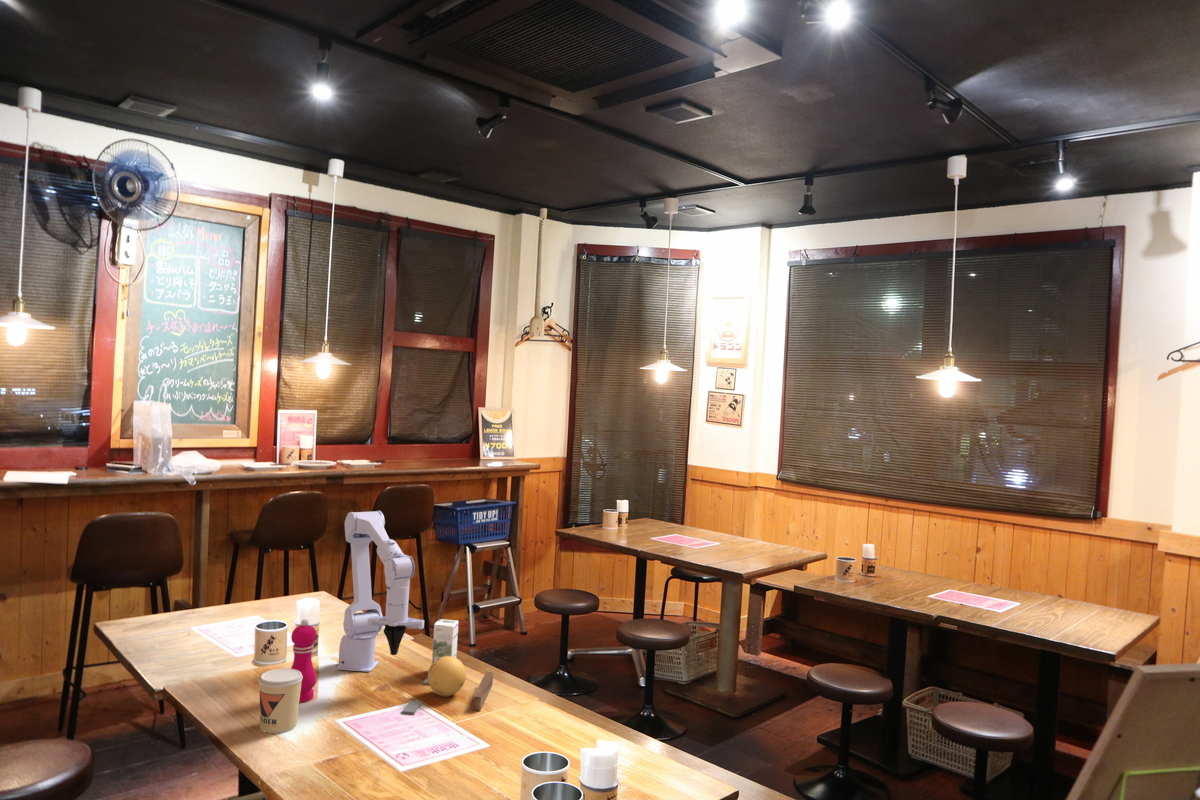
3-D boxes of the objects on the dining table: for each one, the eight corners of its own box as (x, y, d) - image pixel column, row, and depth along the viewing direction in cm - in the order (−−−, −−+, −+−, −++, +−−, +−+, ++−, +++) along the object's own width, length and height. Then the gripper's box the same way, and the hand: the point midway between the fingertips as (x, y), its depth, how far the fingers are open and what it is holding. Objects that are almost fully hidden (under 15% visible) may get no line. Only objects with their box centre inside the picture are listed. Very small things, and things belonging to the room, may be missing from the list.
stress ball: (468, 698, 206) (464, 664, 213) (467, 679, 200) (462, 645, 207) (430, 706, 204) (427, 671, 211) (427, 687, 197) (424, 652, 205)
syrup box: (456, 670, 224) (459, 619, 224) (450, 677, 218) (453, 625, 219) (437, 668, 225) (439, 618, 225) (430, 675, 219) (433, 623, 219)
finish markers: (401, 713, 192) (402, 711, 192) (426, 679, 216) (426, 677, 216) (413, 714, 192) (414, 712, 192) (437, 679, 216) (437, 677, 216)
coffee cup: (247, 728, 179) (250, 676, 179) (281, 715, 187) (283, 665, 187) (275, 738, 174) (278, 685, 174) (308, 724, 183) (311, 673, 183)
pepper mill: (305, 705, 193) (309, 624, 194) (278, 701, 195) (283, 621, 195) (321, 695, 201) (325, 617, 201) (295, 691, 202) (300, 614, 202)
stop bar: (472, 710, 196) (473, 696, 196) (485, 684, 214) (485, 671, 214) (480, 710, 196) (481, 697, 196) (492, 685, 214) (493, 672, 214)
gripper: (365, 604, 203) (362, 656, 203) (420, 608, 203) (417, 660, 203) (373, 597, 210) (370, 648, 210) (427, 601, 210) (424, 651, 210)
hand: (394, 653), depth 207 cm, fingers closed
